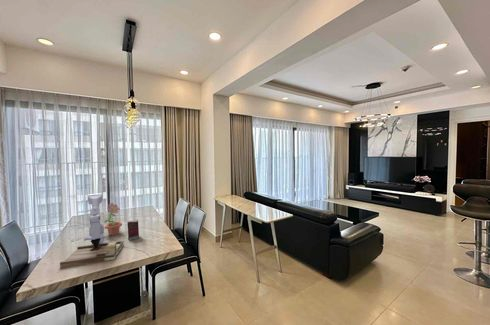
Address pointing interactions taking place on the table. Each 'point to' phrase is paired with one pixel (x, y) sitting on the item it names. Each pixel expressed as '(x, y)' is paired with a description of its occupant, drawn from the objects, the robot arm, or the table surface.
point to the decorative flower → (114, 226)
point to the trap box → (91, 254)
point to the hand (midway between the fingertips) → (96, 248)
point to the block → (111, 247)
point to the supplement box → (133, 229)
